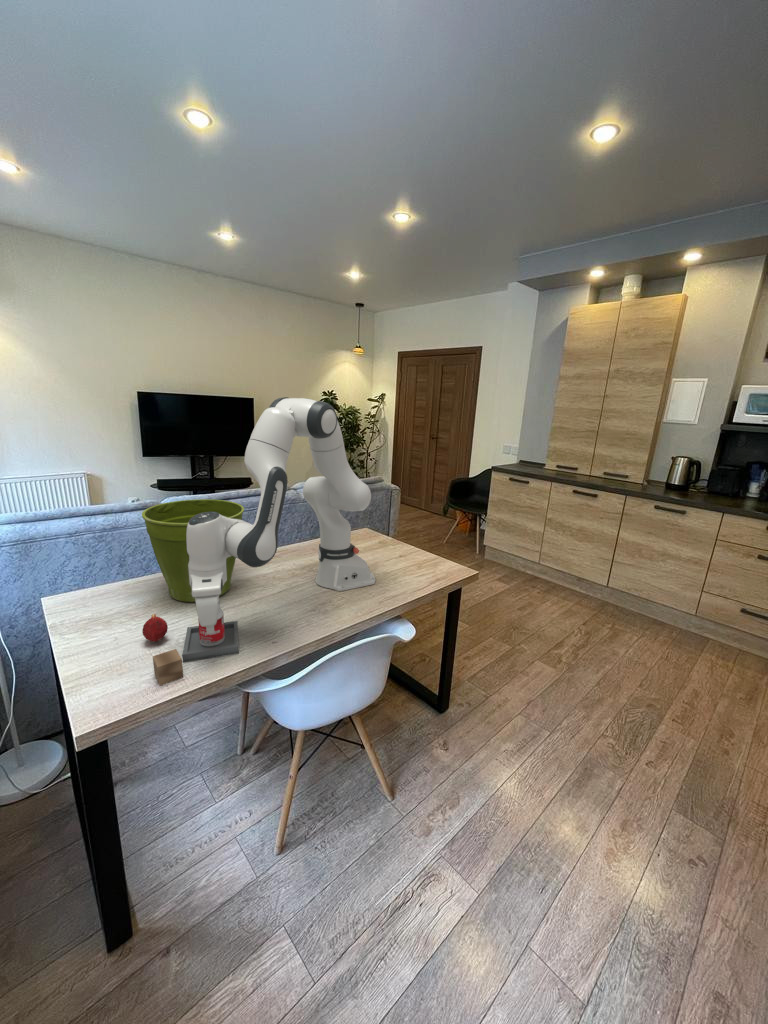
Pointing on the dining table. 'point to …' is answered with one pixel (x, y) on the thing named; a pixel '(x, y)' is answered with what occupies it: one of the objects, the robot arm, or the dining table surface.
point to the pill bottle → (218, 633)
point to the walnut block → (168, 667)
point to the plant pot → (182, 539)
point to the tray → (198, 651)
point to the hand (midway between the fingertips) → (211, 623)
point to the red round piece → (154, 628)
